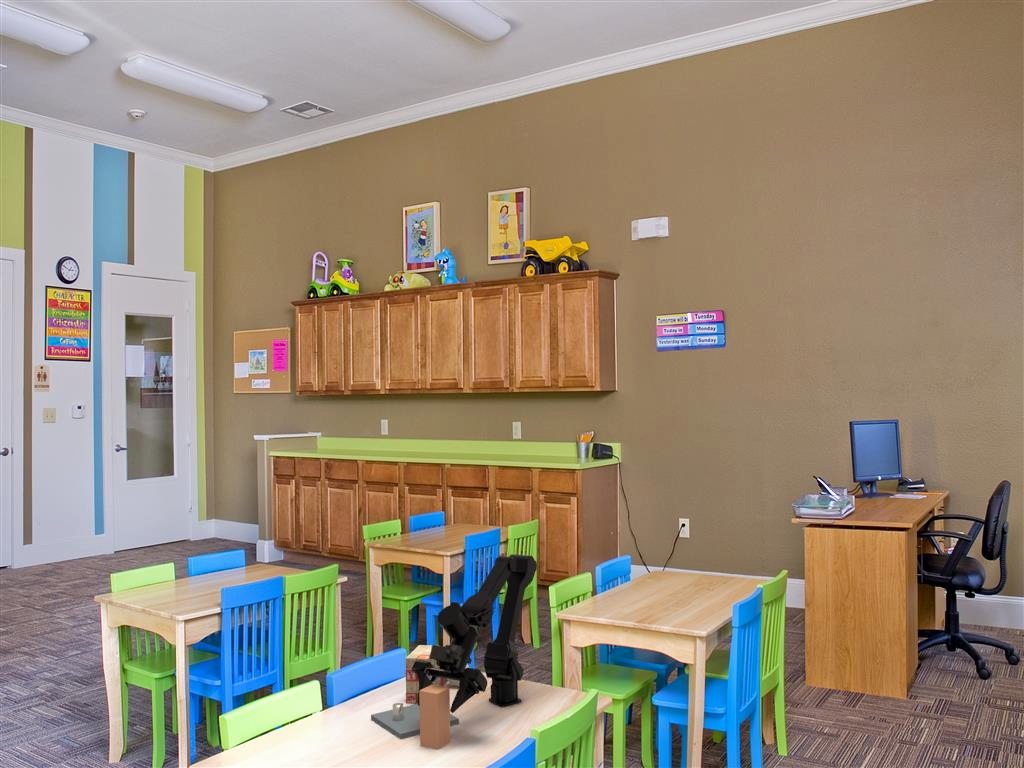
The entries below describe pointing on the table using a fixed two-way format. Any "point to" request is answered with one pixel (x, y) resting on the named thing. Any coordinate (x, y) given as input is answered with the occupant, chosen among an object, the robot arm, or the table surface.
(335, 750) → the table surface
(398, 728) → the slate board
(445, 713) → the tall peach square pillar
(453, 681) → the baseball
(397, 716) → the steel post
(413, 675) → the stack of blocks
